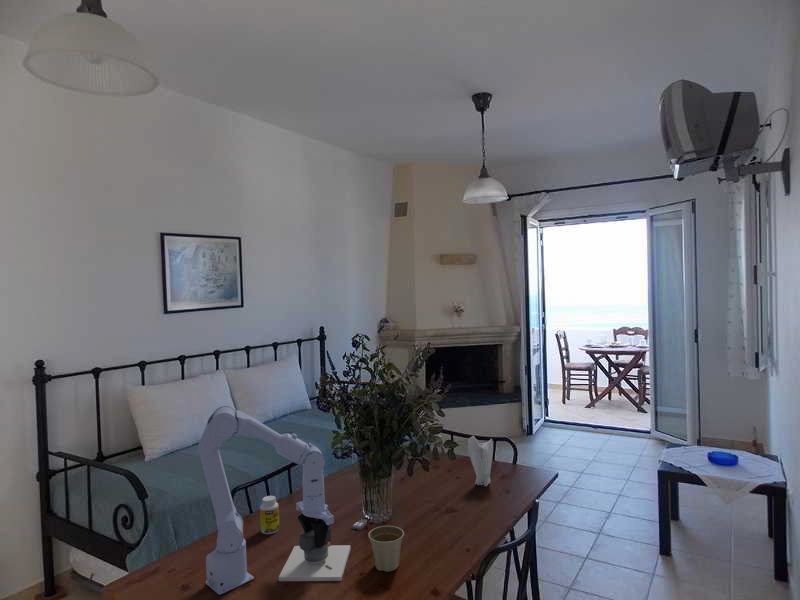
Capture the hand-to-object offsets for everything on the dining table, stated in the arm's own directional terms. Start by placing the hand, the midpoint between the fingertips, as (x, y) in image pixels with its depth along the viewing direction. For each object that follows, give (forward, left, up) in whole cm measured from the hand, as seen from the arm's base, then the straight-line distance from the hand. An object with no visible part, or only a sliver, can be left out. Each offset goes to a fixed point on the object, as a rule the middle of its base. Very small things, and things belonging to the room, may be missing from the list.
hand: (315, 543), depth 137 cm
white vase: (+74, -1, -6) cm, 74 cm away
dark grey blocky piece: (0, 0, -3) cm, 3 cm away
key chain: (+26, +9, -6) cm, 28 cm away
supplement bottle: (+2, +27, -6) cm, 28 cm away
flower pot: (+12, -15, -6) cm, 20 cm away
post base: (0, 0, -6) cm, 6 cm away
